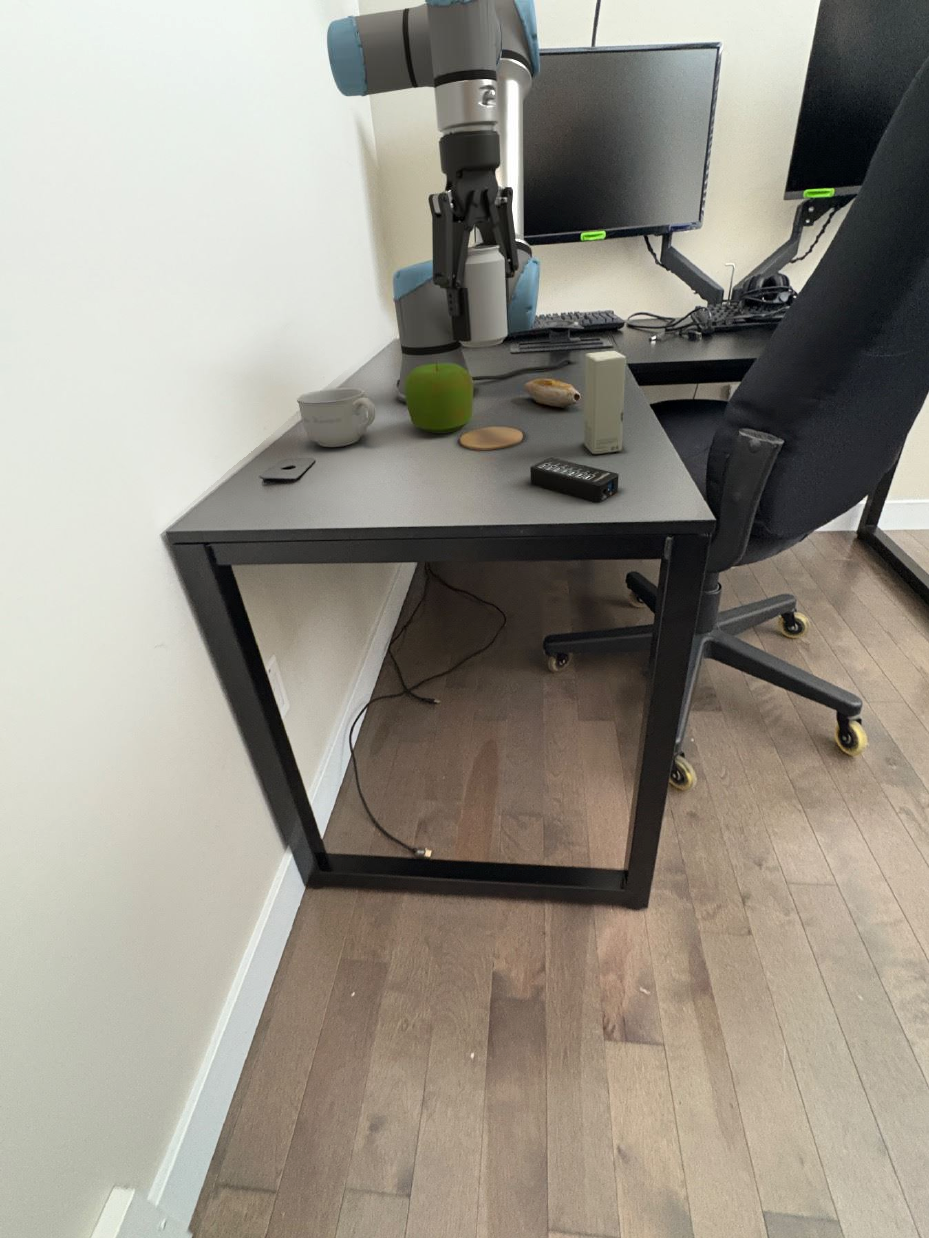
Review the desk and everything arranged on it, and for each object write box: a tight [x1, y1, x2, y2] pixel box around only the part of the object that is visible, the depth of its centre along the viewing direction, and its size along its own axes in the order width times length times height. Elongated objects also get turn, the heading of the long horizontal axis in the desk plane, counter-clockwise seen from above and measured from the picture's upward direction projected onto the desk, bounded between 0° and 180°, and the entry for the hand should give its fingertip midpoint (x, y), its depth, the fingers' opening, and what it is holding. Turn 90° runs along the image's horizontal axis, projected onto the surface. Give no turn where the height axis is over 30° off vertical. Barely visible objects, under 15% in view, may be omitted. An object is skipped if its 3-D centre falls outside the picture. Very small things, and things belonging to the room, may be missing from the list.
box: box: [583, 350, 627, 455], centre depth 84 cm, size 5×4×13 cm
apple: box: [404, 361, 474, 434], centre depth 99 cm, size 11×11×11 cm
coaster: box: [459, 426, 524, 451], centre depth 95 cm, size 10×10×1 cm
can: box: [453, 245, 509, 348], centre depth 84 cm, size 8×8×12 cm
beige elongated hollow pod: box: [524, 378, 582, 408], centre depth 107 cm, size 5×14×4 cm, turn 30°
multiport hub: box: [529, 457, 620, 503], centre depth 77 cm, size 4×11×2 cm, turn 45°
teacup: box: [296, 387, 377, 448], centre depth 98 cm, size 14×11×8 cm
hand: (481, 334), depth 86 cm, fingers closed on can, 7 cm apart
